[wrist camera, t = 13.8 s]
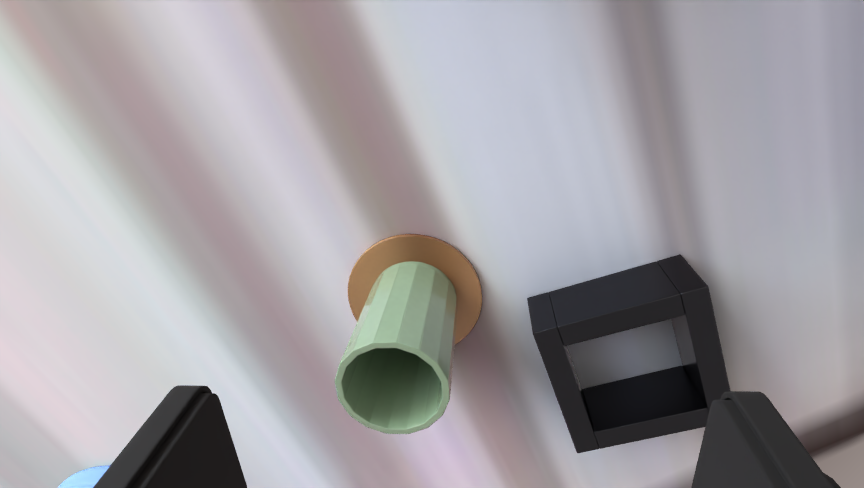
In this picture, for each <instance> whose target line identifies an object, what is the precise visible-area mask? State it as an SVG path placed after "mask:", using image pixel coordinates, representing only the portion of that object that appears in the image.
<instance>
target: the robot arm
mask: <svg viewBox="0 0 864 488" xmlns="http://www.w3.org/2000/svg"><path fill="white" fill-rule="evenodd" d="M93 488H247V485H246V482H245V479H244V475H243V472H242V469H241V466H240V463H239V460H238V457H237V453H236V450H235V447H234V444H233V441H232V438H231V435H230V432H229V428H228V425H227V422H226V419H225V416H224V413H223V410H222V406H221V403H220V400H219V398H218V396H217V395H216V394H212V392H211V390H210V389H209V388H208V387H207V386H176V387H174V388H173V389H172V390H171V391H170V392H169V393H168V394H167V396H166V397H165V398H164V399H163V401H162V402H161V403H160V404H159V406H158V407H157V408H156V409H155V411H154V412H153V413H152V414H151V416H150V417H149V418H148V419H147V421H146V422H145V423H144V424H143V426H142V427H141V428H140V429H139V431H138V432H137V433H136V434H135V436H134V437H133V438H132V439H131V441H130V442H129V443H128V444H127V446H126V447H125V448H124V449H123V451H122V452H121V453H120V454H119V456H118V457H117V458H116V459H115V461H114V462H113V463H112V464H111V466H110V467H109V468H108V469H107V471H106V472H105V473H104V474H103V476H102V477H101V478H100V479H99V481H98V482H97V483H96V484H95V486H94V487H93ZM692 488H841V487H840V486H839V485H838V484H837V483H836V482H835V481H834V480H833V479H832V478H831V477H829V476H828V475H826V474H824V473H823V472H822V471H821V470H820V468H819V467H818V465H817V464H816V463H815V461H814V460H813V459H812V457H811V456H810V454H809V453H808V452H807V450H806V449H805V448H804V446H803V445H802V444H801V442H800V441H799V440H798V438H797V437H796V435H795V434H794V433H793V431H792V430H791V429H790V427H789V426H788V425H787V423H786V422H785V421H784V419H783V418H782V416H781V415H780V414H779V412H778V411H777V410H776V408H775V407H774V406H773V404H772V403H771V402H770V400H769V399H768V398H767V397H766V396H765V395H764V394H763V393H761V392H732V391H728V392H724V393H723V394H722V396H721V398H720V400H713V401H712V403H711V406H710V411H709V415H708V419H707V424H706V428H705V432H704V436H703V441H702V445H701V449H700V453H699V458H698V462H697V466H696V471H695V475H694V479H693V483H692Z"/></svg>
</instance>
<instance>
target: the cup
mask: <svg viewBox="0 0 864 488" xmlns="http://www.w3.org/2000/svg"><path fill="white" fill-rule="evenodd" d="M457 311H458V310H457V294H456V290H455V288H454V286H453V284H452V282H451V281H450V279H449V278H448V277H447V276H446V275H445V274H444V273H443V272H442V271H440V270H439V269H437V268H435V267H434V266H431V265H429V264H426V263H422V262H415V261H409V262H402V263H398V264H395V265H393V266H391V267H389V268H387V269H386V270H384V271H383V272H382V273H381V274H380V275H379V277H378V278H377V279H376V281H375V283H374V284H373V286H372V289H371V291H370V293H369V296H368V298H367V301H366V303H365V305H364V308H363V310H362V312H361V315H360V317H359V319H358V322H357V324H356V327H355V329H354V331H353V334H352V336H351V338H350V341H349V343H348V346H347V348H346V350H345V353H344V355H343V357H342V360H341V362H340V365H339V368H338V371H337V374H336V378H335V385H336V391H337V396H338V399H339V401H340V402H341V404H342V405H343V407H344V408H345V410H346V411H347V412H348V414H349V415H350V416H351V417H353V418H354V419H356V420H357V421H358V422H360V423H361V424H363V425H364V426H366V427H367V428H371V429H374V430H377V431H380V432H383V433H386V434H387V433H388V434H410V433H413V432H416V431H419V430H422V429H426V428H428V427H429V426H431V425H432V424H433V423H434V422H435V421H437V420H438V419H439V418H440V417H441V416H442V415H443V413H444V411H445V409H446V407H447V404H448V402H449V400H450V391H451V379H452V368H453V356H454V345H455V334H456V322H457Z"/></svg>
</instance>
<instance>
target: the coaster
mask: <svg viewBox="0 0 864 488" xmlns="http://www.w3.org/2000/svg"><path fill="white" fill-rule="evenodd" d="M409 261H415V262H422V263H426V264H429V265H431V266H434V267H435V268H437V269H439V270H440V271H442V272H443V273H444V274H445V275H446V276H447V277H448V278H449V279H450V281H451V282H452V284H453V286H454V288H455V290H456V294H457V310H458V311H457V322H456V334H455V344H457V343H458V342H459V341H461V340H462V339H463V338H465V336H466V335H467V334H468V333H469V332H470V331H471V330H472V328H473V327H474V326H475V324H476V322H477V320H478V317H479V314H480V311H481V306H482V290H481V284H480V281H479V278H478V276H477V273H476V271H475V269H474V268H473V266H472V265H471V263H470V262H469V261H468V260H467V258H466V257H465V256H464V255H463V254H462V253H461V252H460V251H458V250H457V249H455V248H454V247H453V246H451V245H449V244H448V243H446V242H444V241H441V240H439V239H436V238H433V237H430V236H425V235H418V234H405V235H397V236H393V237H389V238H386V239H384V240H381V241H380V242H378V243H376V244H374V245H373V246H371V247H370V248H369V249H367V250H366V251H365V252H364V253H363V254H362V255H361V257H360V258H359V259H358V261H357V262H356V264H355V266H354V268H353V269H352V272H351V275H350V278H349V283H348V299H349V304H350V307H351V310H352V313H353V315H354V317H355V319H356V320H357V322H358V319H359V317H360V315H361V312H362V310H363V308H364V305H365V303H366V301H367V298H368V296H369V293H370V291H371V289H372V286H373V284H374V283H375V281H376V279H377V278H378V277H379V275H380V274H381V273H382V272H383V271H384V270H386V269H387V268H389V267H391V266H393V265H395V264H398V263H402V262H409Z"/></svg>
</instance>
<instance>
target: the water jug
mask: <svg viewBox="0 0 864 488" xmlns="http://www.w3.org/2000/svg"><path fill="white" fill-rule="evenodd" d="M109 467H110V466H101V467H94V468H89V469H86V470H83V471H80V472H78V473H76V474H74V475H72V476H70V477H69V478H68V479H66V480H65V481H64V482H63V483H62V484H61V485H60V486H59V487H58V488H93V487H94V486H95V484H96V483H97V482H98V481H99V479H100V478H101V477H102V476H103V474H104V473H105V472H106V471H107V469H108V468H109Z"/></svg>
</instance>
